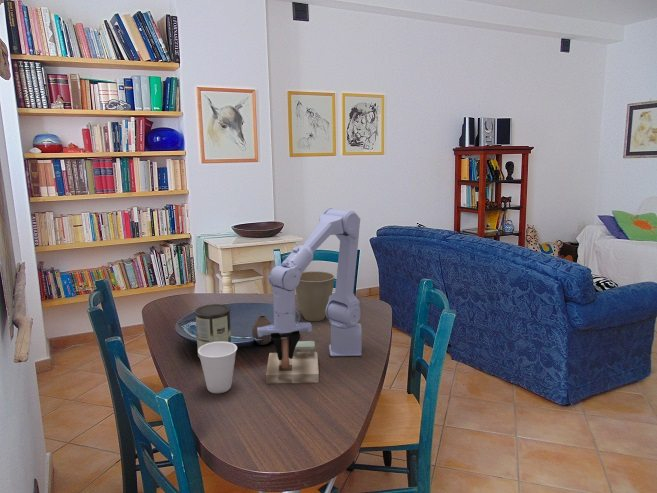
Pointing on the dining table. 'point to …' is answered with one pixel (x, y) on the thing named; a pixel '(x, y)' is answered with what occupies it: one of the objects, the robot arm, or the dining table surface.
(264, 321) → the vase
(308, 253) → the robot arm
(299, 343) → the pale green box
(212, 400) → the dining table surface
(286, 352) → the peg
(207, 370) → the cup
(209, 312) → the coffee can
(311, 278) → the plant pot
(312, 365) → the socket board
